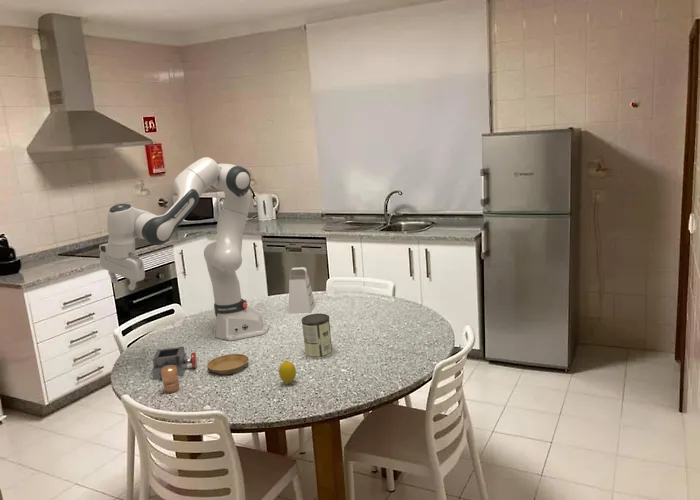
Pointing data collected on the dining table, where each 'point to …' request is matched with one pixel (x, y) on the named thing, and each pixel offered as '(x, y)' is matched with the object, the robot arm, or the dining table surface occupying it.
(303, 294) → the grater
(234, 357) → the plant saucer
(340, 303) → the dining table surface
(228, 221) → the robot arm
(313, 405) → the dining table surface
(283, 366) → the lemon
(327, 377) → the dining table surface
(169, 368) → the cylinder
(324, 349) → the coffee can
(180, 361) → the valve body
